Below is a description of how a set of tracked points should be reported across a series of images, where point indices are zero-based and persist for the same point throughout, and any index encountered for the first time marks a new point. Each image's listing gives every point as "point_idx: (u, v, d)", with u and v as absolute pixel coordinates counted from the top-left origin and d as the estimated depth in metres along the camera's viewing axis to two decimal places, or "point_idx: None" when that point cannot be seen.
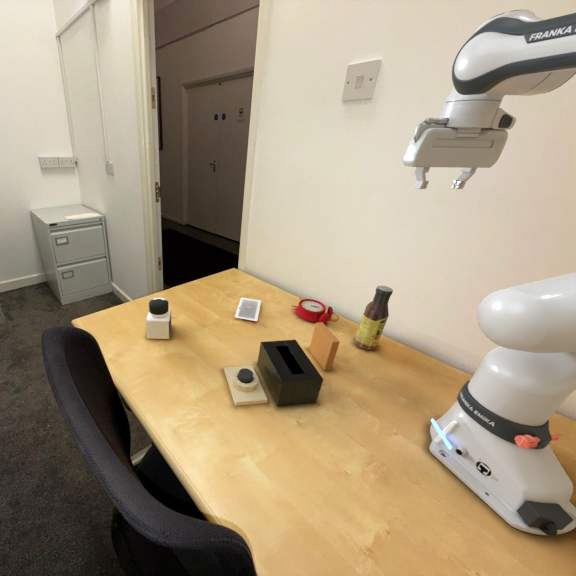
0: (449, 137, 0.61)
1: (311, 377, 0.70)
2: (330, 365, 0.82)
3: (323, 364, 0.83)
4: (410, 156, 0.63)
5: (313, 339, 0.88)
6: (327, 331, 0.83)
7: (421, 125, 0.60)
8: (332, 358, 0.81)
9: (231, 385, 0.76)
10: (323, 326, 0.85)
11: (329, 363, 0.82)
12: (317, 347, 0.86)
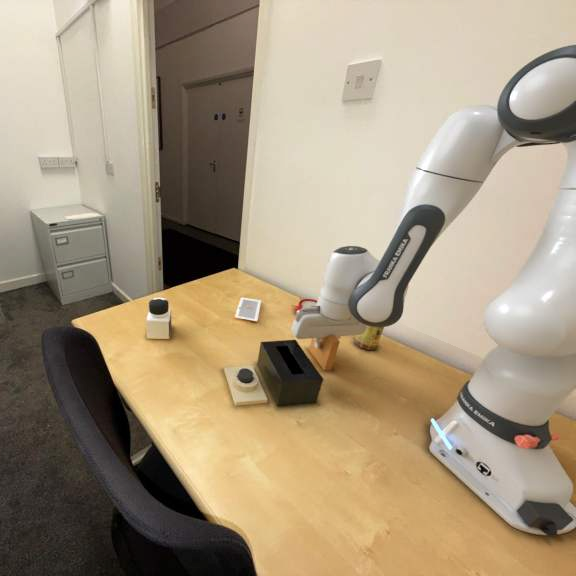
0: (321, 321, 0.78)
1: (311, 377, 0.70)
2: (330, 365, 0.82)
3: (323, 364, 0.83)
4: (294, 330, 0.80)
5: (313, 339, 0.88)
6: None
7: (299, 312, 0.78)
8: (332, 358, 0.81)
9: (231, 385, 0.76)
10: None
11: (329, 363, 0.82)
12: None
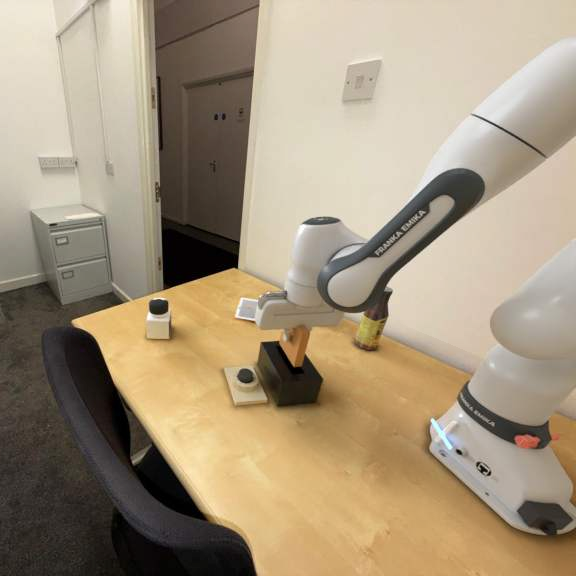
0: (288, 308, 0.65)
1: (311, 377, 0.70)
2: (300, 361, 0.70)
3: (293, 360, 0.71)
4: (257, 320, 0.68)
5: None
6: None
7: (261, 298, 0.65)
8: (302, 353, 0.69)
9: (231, 385, 0.76)
10: None
11: (299, 358, 0.69)
12: None
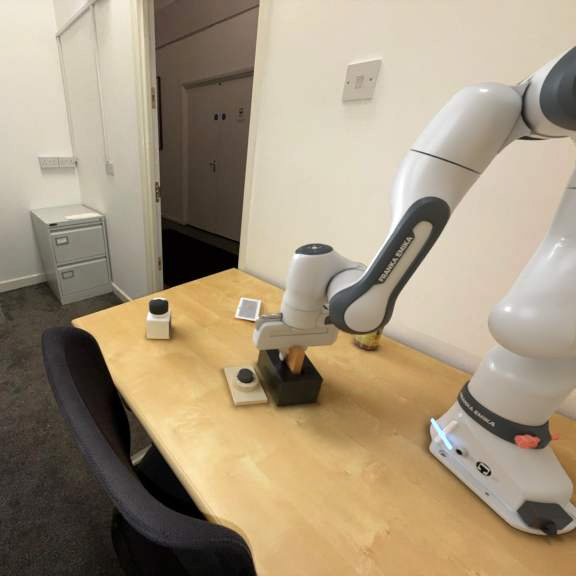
0: (284, 330, 0.68)
1: (311, 377, 0.70)
2: None
3: None
4: (254, 340, 0.71)
5: None
6: None
7: (258, 320, 0.68)
8: (298, 371, 0.72)
9: (231, 385, 0.76)
10: None
11: None
12: None
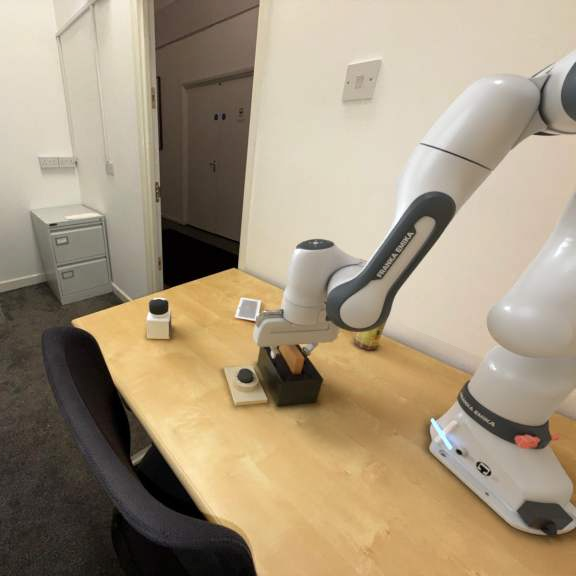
0: (285, 326, 0.68)
1: (311, 377, 0.70)
2: None
3: None
4: (255, 337, 0.70)
5: None
6: (292, 346, 0.73)
7: (259, 317, 0.67)
8: None
9: (231, 385, 0.76)
10: None
11: None
12: None
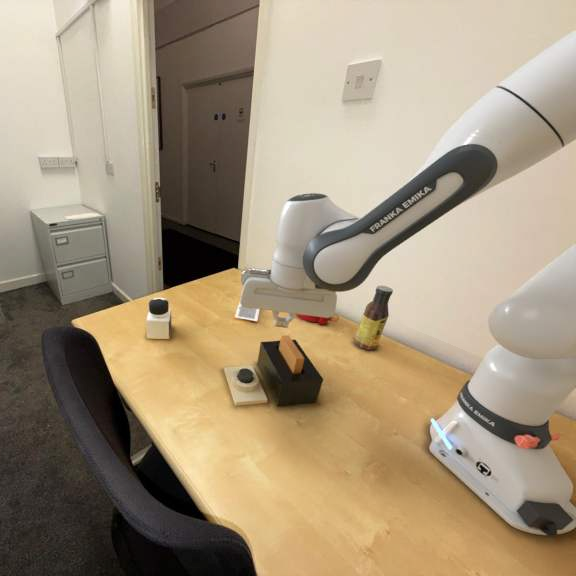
0: (270, 288, 0.64)
1: (311, 377, 0.70)
2: None
3: None
4: None
5: None
6: (292, 346, 0.73)
7: (243, 274, 0.65)
8: None
9: (231, 385, 0.76)
10: (288, 340, 0.75)
11: None
12: None
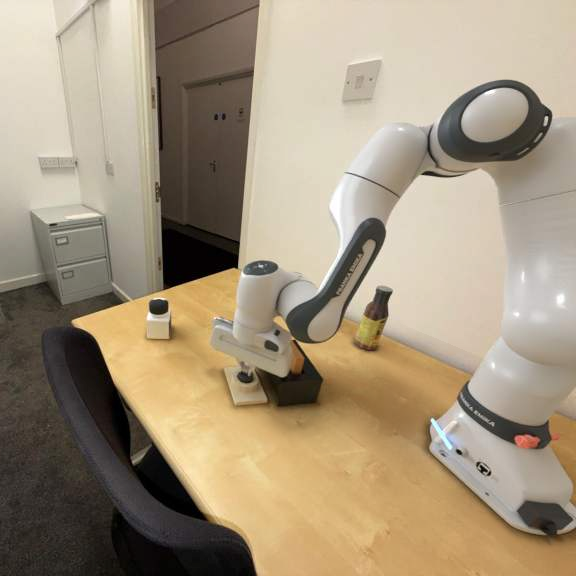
0: (232, 338, 0.71)
1: (311, 377, 0.70)
2: None
3: None
4: None
5: None
6: (292, 346, 0.73)
7: (213, 320, 0.74)
8: None
9: (231, 385, 0.76)
10: None
11: None
12: None
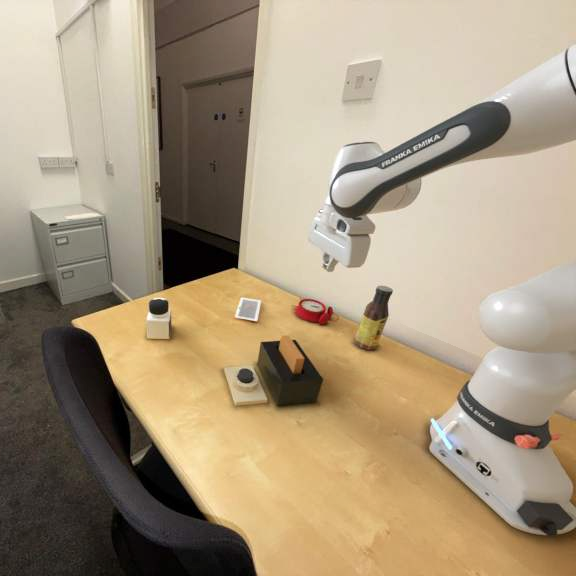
0: (322, 226, 0.76)
1: (311, 377, 0.70)
2: None
3: None
4: None
5: None
6: (292, 346, 0.73)
7: (317, 212, 0.81)
8: None
9: (231, 385, 0.76)
10: (288, 340, 0.75)
11: None
12: None
